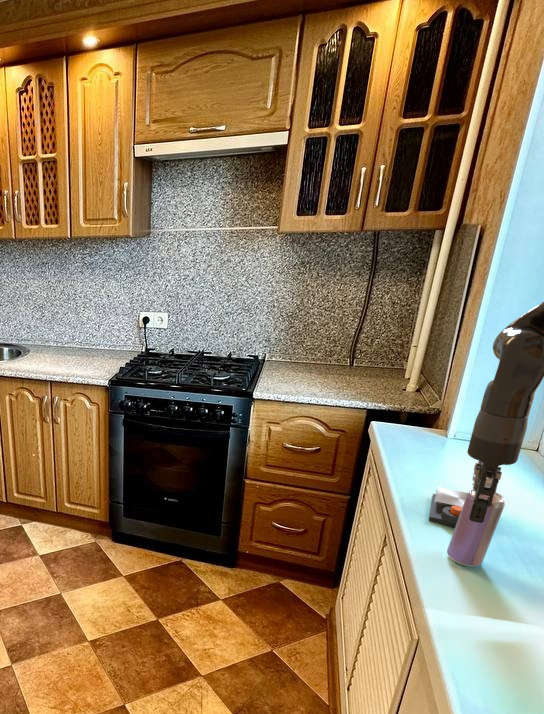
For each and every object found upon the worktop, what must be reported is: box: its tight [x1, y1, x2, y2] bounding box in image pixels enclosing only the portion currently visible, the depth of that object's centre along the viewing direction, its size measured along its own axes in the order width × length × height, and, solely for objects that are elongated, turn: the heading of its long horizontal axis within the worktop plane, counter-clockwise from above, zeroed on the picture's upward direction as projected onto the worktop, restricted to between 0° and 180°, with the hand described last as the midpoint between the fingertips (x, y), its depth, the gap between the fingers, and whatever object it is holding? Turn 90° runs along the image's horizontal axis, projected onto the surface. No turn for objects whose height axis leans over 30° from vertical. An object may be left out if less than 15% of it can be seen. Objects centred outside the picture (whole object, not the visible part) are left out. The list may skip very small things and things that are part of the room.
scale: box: [428, 493, 459, 529], centre depth 123 cm, size 15×10×3 cm
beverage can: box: [446, 488, 506, 568], centre depth 105 cm, size 6×6×15 cm
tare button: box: [450, 505, 462, 516], centre depth 119 cm, size 3×3×2 cm
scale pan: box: [435, 486, 469, 507], centre depth 125 cm, size 9×9×1 cm
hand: (475, 513), depth 104 cm, fingers open, 6 cm apart
